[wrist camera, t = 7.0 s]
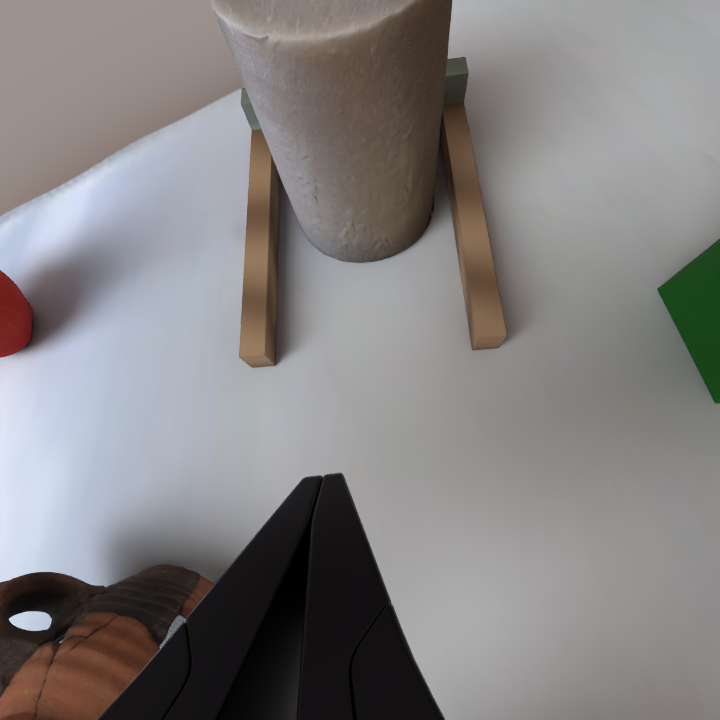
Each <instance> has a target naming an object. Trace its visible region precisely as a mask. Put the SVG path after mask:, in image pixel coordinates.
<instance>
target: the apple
mask: <svg viewBox="0 0 720 720" xmlns="http://www.w3.org/2000/svg"><path fill="white" fill-rule="evenodd" d="M32 320H33V309H32V307H31V305H30V304H29V302H28V301H27V299H26V298H25V297H24V295H23V294H22V292H21V291H20V289H19V288H18V287H17V285H16V284H15V283H14V282H13V281H12V280H11V279H10V278H9V277H8V276H7V275H6V274H4V273H3V272H2V271H1V270H0V358H1V357H6V356H9V355H12V354H15V353H17V352H18V351H20V350H21V349H23V348H24V347H25V346H26V345H27V344H28V342H29V340H30V338H31V334H32Z"/></svg>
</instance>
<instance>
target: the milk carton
mask: <svg viewBox="0 0 720 720" xmlns="http://www.w3.org/2000/svg"><path fill="white" fill-rule="evenodd" d="M658 291H659V293H660V295H661V297H662V299H663V301H664V303H665V305H666V307H667V309H668V311H669V313H670V315H671V317H672V319H673V320H674V322H675V324H676V326H677V328H678V330H679V332H680V334H681V336H682V338H683V340H684V342H685V344H686V346H687V348H688V350H689V352H690V354H691V356H692V358H693V360H694V362H695V364H696V366H697V368H698V369H699V371H700V373H701V375H702V377H703V379H704V381H705V383H706V385H707V387H708V389H709V391H710V393H711V395H712V397H713V399H714V401H715V403H720V239H719V240H718V241H716V242H715V243H714V244H713V245H712V246H710V247H709V248H708V249H707V250H705V251H704V252H703V253H702V254H700V255H699V256H698V257H697V258H695V259H694V260H693V261H692V262H691V263H689V264H688V265H687V266H686V267H684V268H683V269H682V270H681V271H679V272H678V273H677V274H676V275H675V276H673V277H672V278H671V279H670V280H668V281H667V282H666V283H665V284H663V285H662V286H661V287H659V288H658Z"/></svg>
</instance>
